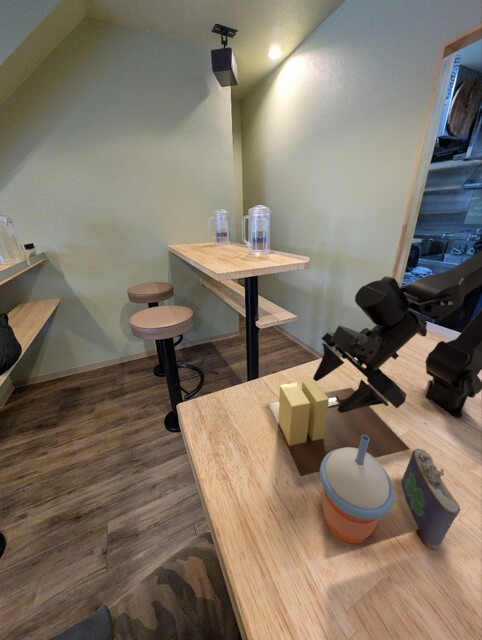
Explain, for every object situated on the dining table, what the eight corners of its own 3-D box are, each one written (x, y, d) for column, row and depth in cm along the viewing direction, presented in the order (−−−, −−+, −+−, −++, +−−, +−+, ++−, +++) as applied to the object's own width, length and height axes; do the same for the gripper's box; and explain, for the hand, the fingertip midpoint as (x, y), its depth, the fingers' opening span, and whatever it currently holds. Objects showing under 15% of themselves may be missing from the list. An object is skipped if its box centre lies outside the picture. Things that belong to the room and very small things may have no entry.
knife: (357, 393, 61) (358, 389, 60) (363, 400, 59) (364, 396, 58) (300, 405, 58) (300, 401, 58) (304, 411, 56) (304, 407, 56)
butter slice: (309, 415, 55) (313, 379, 51) (323, 438, 50) (329, 399, 46) (299, 418, 55) (302, 381, 50) (312, 441, 49) (316, 401, 45)
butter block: (294, 419, 54) (296, 382, 50) (306, 442, 49) (310, 403, 45) (278, 422, 54) (279, 385, 50) (289, 446, 48) (291, 406, 44)
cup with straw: (343, 576, 32) (368, 488, 25) (301, 506, 40) (310, 423, 33) (393, 540, 36) (428, 454, 28) (345, 482, 43) (363, 402, 36)
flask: (443, 552, 34) (470, 504, 30) (420, 548, 35) (443, 501, 30) (412, 484, 43) (429, 439, 38) (393, 482, 43) (408, 437, 39)
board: (350, 392, 64) (351, 387, 63) (408, 454, 48) (410, 448, 47) (268, 408, 60) (268, 403, 59) (300, 481, 44) (300, 476, 43)
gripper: (335, 295, 51) (282, 349, 54) (408, 337, 35) (327, 412, 37) (362, 325, 56) (312, 373, 59) (438, 375, 40) (364, 439, 42)
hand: (325, 394), depth 49 cm, fingers open, 9 cm apart
